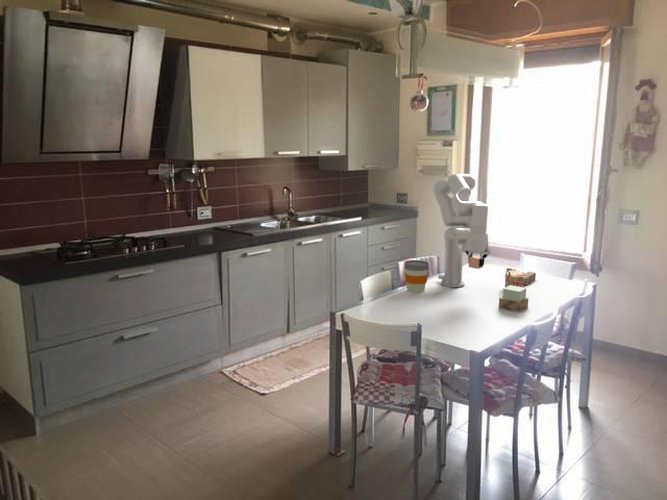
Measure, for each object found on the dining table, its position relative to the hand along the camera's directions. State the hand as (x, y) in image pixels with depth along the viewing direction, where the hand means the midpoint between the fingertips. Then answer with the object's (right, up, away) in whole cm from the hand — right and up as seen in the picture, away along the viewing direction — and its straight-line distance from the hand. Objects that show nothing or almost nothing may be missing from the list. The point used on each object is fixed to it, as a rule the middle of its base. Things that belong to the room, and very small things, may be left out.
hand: (475, 265), depth 269 cm
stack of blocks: (+23, -16, +13) cm, 30 cm away
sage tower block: (+15, -15, -11) cm, 24 cm away
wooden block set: (+33, -10, +40) cm, 53 cm away
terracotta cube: (0, -1, 0) cm, 1 cm away
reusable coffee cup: (-27, -14, +18) cm, 35 cm away
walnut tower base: (+15, -20, -10) cm, 27 cm away
